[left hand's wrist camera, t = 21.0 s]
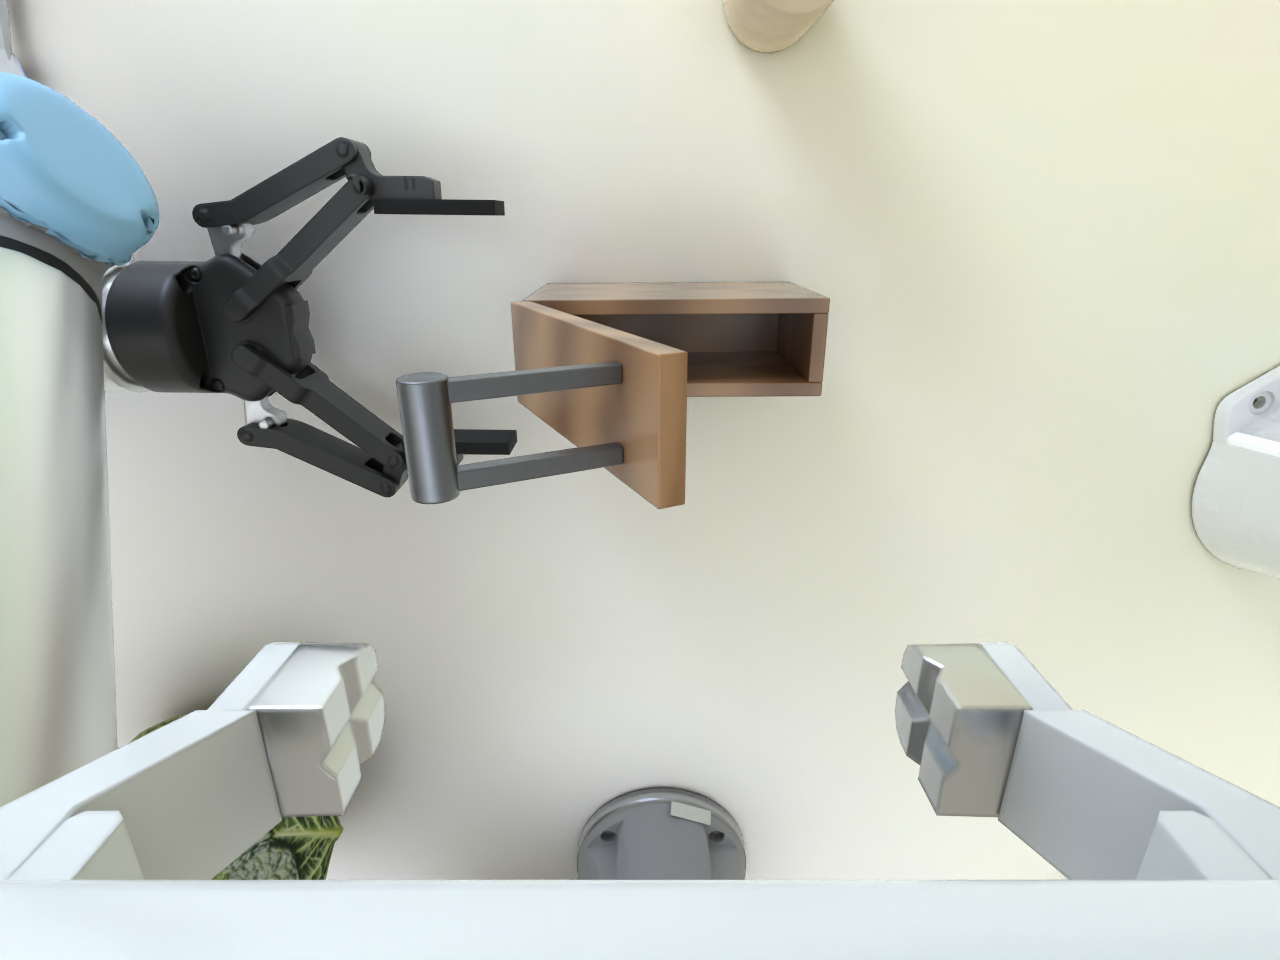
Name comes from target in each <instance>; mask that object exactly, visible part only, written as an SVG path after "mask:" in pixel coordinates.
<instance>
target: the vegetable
mask: <svg viewBox="0 0 1280 960" xmlns="http://www.w3.org/2000/svg"><path fill="white" fill-rule="evenodd" d="M183 716H185V715H182V716H177V717H174V718H172V719H169V720H166V721H164V722H161V723H159V724H157V725H155V726H153V727H150V728H148V729H146V730H145V731H143V732H141V733H140V734H139V735H138V736H137V737H135V738H134V739H133V740H132V741H131V742H133V741H135V740H137V739H139V738H141V737H143V736H145V735H147V734H149V733H151V732H153V731H155V730H157V729H159V728H161V727H163V726H165V725H167V724H169V723H171V722H173V721H175V720H177V719H179V718H181V717H183ZM131 742H130V743H131ZM118 749H119V748H118ZM342 831H343V828H342V826H341V824H340V822H339V819H338V816H304V817H282V821H281V822H280V823H278V824H277V825H276V826H275V827H274V828H272V829H271V830H270V831H269V832H268V833H266V834H265V835H264V836H263V837H262V838H260V839H259V840H258V841H257V842H256V843H254V844H253V845H252V846H251V847H250V848H248V849H247V850H246V851H245V852H244V853H242V854H241V855H240V856H239V857H238V858H236V859H235V860H234V861H233V862H232V863H230V864H229V865H228V866H227V867H226V868H224V869H223V870H222V871H221V872H220V873H218V874H217V875H216V876H215V877H214V878H212V879H211V880H325V879H326V875H327V871H328V867H329V862H330V858H331V855H332V851H333V847H334V843H335V841H336V840H337V839H338V838H339V836H340V835H341V833H342Z"/></svg>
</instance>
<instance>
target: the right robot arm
mask: <svg viewBox="0 0 1280 960" xmlns="http://www.w3.org/2000/svg"><path fill="white" fill-rule="evenodd" d="M346 176H347V177H346ZM344 177H346V178H347V179H348V182H347V183H346V184H345V185H344V186H343V187H342V188H341V189H340V190H339V191H338V192H337V193H336V194H335V195H334V196H333V197H332V198H331V199H330V200H329V201H328V202H327V203H326V205H325V206H324V207H323V208H322V209H321V210H320V211H319V212H318V213H317V214H316V215H315V216H314V217H313V218H312V219H311V220H310V221H309V222H308V223H307V224H306V225H305V226H304V227H303V228H302V229H301V230H300V231H299V232H298V233H297V234H296V235H295V236H294V237H293V239H292V240H291V241H290V242H289V243H288V244H287V245H286V246H285V247H284V248H283V249H282V250H281V251H280V252H279V253H278V254H277V255H276V256H274V257H272V258H270V259H269V260H267V261H266V262H265V263H264V264H263V265H262V266H261V265H260V264H258V263H257V262H255V261H254V260H252V259H251V258H249V257H248V256H246V255H244V254H241V245H242V243H243V242H244V241H246V240H248V239H250V238H251V237H252V236H253V233H254V231H255V230H254V227H253V225H254V224H259V223H263V222H266V221H268V220H270V219H272V218H274V217H276V216H278V215H279V214H281V213H283V212H285V211H286V210H288V209H290V208H292V207H293V206H295V205H297V204H299V203H300V202H302V201H304V200H306V199H307V198H309V197H311V196H313V195H314V194H316V193H318V192H320V191H321V190H323V189H325V188H327V187H328V186H330V185H332V184H334V183H335V182H337V181H339V180H341V179H342V178H344ZM373 208H374V214H427V215H505V212H504V201H497V200H442V197H441V185H440V182H439V181H437V180H435V179H432V178H429V177H424V176H382V175H381V174H380V173H378V171H377V170H376V169H375V167H374V165H373V162H372V160H371V152H370V149H369V148H368V147H367V145H365V144H364V143H361V142H358V141H354V140H350V139H347V138H341V137H340V138H337V139H335V140H333V141H331V142H330V143H328V144H326V145H325V146H323V147H321V148H319V149H318V150H316V151H314V152H313V153H311V154H309V155H307V156H306V157H304V158H302V159H301V160H299V161H297V162H295V163H294V164H292V165H290V166H289V167H287V168H285V169H283V170H282V171H280V172H278V173H277V174H275V175H273V176H271V177H270V178H268V179H266V180H265V181H263V182H261V183H259V184H258V185H256V186H254V187H253V188H251V189H249V190H247V191H246V192H244V193H242V194H241V195H239V196H237V197H235V198H234V199H232V200H230V201H222V202H213V203H204V204H199V205H196V206H195V207H194V208H193V212H192V214H193V218H194V220H195V222H196V223H197V224H198V225H200V226H202V227H206V228H207V229H208V232H209V235H210V238H211V242H212V245H213V248H214V252H215V255H216V256H215V257H213V258H212V259H211V260H209V261H206V262H164V261H139V262H134V263H130V262H129V261H130V259H131V254H132V253H133V252H135V251H136V250H137V249H139V248H140V247H141V246H143V245H144V244H145V243H147V242H148V241H149V240H150V238H151V237H152V236H153V234H154V232H155V230H156V229H157V227H158V223H159V211H158V204H157V201H156V197H155V195H154V193H153V190H152V188H151V186H150V184H149V182H148V180H147V178H146V176H145V175H144V173H143V171H142V170H141V168H140V167H139V165H138V164H137V163H136V161H135V160H134V159H133V157H132V156H131V155H130V154H129V152H128V151H127V150H126V149H125V148H124V146H123V145H122V144H121V143H120V142H119V141H118V140H117V139H116V138H115V137H114V136H113V135H112V134H111V133H110V132H109V131H108V130H107V129H106V128H105V127H104V126H103V125H102V124H101V123H99V122H98V121H97V120H96V119H95V118H93V117H91V116H90V115H88V114H87V113H86V112H85V111H83V110H82V109H80V108H79V107H78V106H76V105H75V104H74V103H73V102H72V101H70V100H69V99H68V98H66V97H65V96H63V95H62V94H60V93H58V92H56V91H55V90H53V89H51V88H49V87H47V86H45V85H43V84H41V83H39V82H37V81H34V80H31V79H29V78H26V77H22V76H19V75H15V74H11V73H3V72H0V807H2V806H4V805H6V804H8V803H10V802H12V801H14V800H16V799H18V798H20V797H22V796H24V795H26V794H28V793H30V792H32V791H34V790H36V789H38V788H40V787H42V786H44V785H46V784H48V783H50V782H52V781H54V780H56V779H58V778H60V777H62V776H64V775H66V774H68V773H70V772H72V771H74V770H76V769H78V768H80V767H82V766H84V765H86V764H88V763H90V762H92V761H94V760H96V759H99V758H101V757H103V756H105V755H107V754H109V753H111V752H113V751H115V750H117V749H118V747H117V720H116V692H115V665H114V637H113V610H112V582H111V555H110V527H109V500H108V472H107V444H106V417H105V391H111V392H145V391H150V390H151V391H155V392H189V393H229V394H232V395H235V396H237V397H239V398H241V399H243V400H244V408H245V420H246V425H245V426H243V427H242V428H240V429H239V430H238V433H237V436H238V439H239V440H240V442H242V443H243V444H245V445H249V446H257V447H266V448H274V449H278V450H280V451H282V452H284V453H287V454H289V455H291V456H293V457H296V458H298V459H300V460H302V461H305V462H307V463H309V464H311V465H314V466H316V467H318V468H320V469H323V470H325V471H327V472H329V473H332V474H334V475H336V476H338V477H341V478H343V479H345V480H347V481H350V482H352V483H354V484H356V485H359V486H361V487H363V488H365V489H368V490H370V491H372V492H374V493H377V494H379V495H381V496H384V497H391V496H393V495H394V494H395V493H396V492H397V491H398V489H399V488H400V487H401V486H402V485H403V484H404V483H405V482H406V480H407V479H408V468H407V461H406V453H405V446H404V438H403V436H402V435H401V434H399V433H398V432H397V431H395V430H394V429H393V428H391V427H390V426H389V425H387V424H386V423H385V422H383V421H382V420H381V419H379V418H378V417H377V416H375V415H374V414H373V413H371V412H370V411H369V410H367V409H366V408H365V407H363V406H362V405H361V404H359V403H358V402H357V401H355V400H354V399H353V398H351V397H350V396H349V395H347V394H346V393H345V392H343V391H342V390H341V389H339V388H338V387H337V386H335V385H334V384H333V383H331V382H330V381H329V379H328V376H327V375H326V374H325V373H324V372H323V371H321V370H320V369H319V368H317V367H316V366H315V365H313V364H312V363H311V362H310V361H311V357H312V354H314V353H316V352H315V346H314V340H313V338H312V335H311V333H310V331H309V328H308V323H309V307H308V301H303V298H302V297H301V295H300V294H299V292H298V291H297V290H296V289H297V288H298V287H299V286H300V285H301V284H302V283H303V282H304V281H305V280H306V279H307V278H308V277H309V276H310V275H311V273H312V270H313V269H314V268H315V267H316V266H317V265H318V264H319V263H320V262H321V261H322V260H323V259H324V258H325V257H326V256H327V255H328V254H329V253H330V252H331V251H332V250H333V249H334V248H335V247H336V246H337V245H338V244H339V243H340V242H341V241H342V240H343V239H344V238H345V237H346V236H347V235H348V234H349V232H350V231H351V230H352V229H353V228H354V227H355V226H356V225H357V224H358V223H359V222H360V221H361V220H362V219H363V218H364V217H365V216H366V215H367V214H368V213H369V212H370V211H371V210H372V209H373ZM275 392H278V393H279V394H281V395H282V396H283V397H285V398H286V399H287V400H289V401H290V402H292V403H295V404H300V405H302V406H304V407H305V408H307V409H308V410H309V411H311V412H312V413H313V414H315V415H316V416H317V417H319V418H320V419H322V420H323V421H324V422H326V423H327V424H328V425H330V426H331V427H332V428H334V429H335V430H337V431H338V432H339V433H341V434H342V435H343V436H345V437H346V438H347V439H349V440H350V441H352V442H353V443H354V444H356V445H357V446H358V447H356V446H354V445H352V444H350V443H348V442H345V441H343V440H341V439H339V438H337V437H334V436H332V435H330V434H328V433H326V432H323V431H321V430H319V429H317V428H315V427H312V426H310V425H308V424H305V423H303V422H300V421H297V420H293V419H288V418H287V414H286V412H285V411H282V410H279V409H276V408H274V407H273V406H272V405H271V404H270V403H269V401H268V396H270V395H272V394H274V393H275ZM453 430H454V439H455V449H456V458H457V466H458V465H459V463H460V462H461V461H462V459H463V454H490V455H510V453H511V451H512V449H513V448H514V446H515V444H516V442H517V432H516V430H460V429H453ZM359 447H360V448H359ZM745 870H746V857H745V850H744V844H743V839H742V835H741V832H740V830H739V828H738V826H737V824H736V822H735V821H734V820H733V818H732V817H731V816H730V815H729V814H728V813H727V812H726V811H725V810H724V809H723V808H722V807H720V806H719V805H718V804H716V803H714V802H713V801H711V800H709V799H707V798H705V797H703V796H701V795H698V794H695V793H692V792H688V791H684V790H678V789H669V788H655V789H645V790H640V791H635V792H632V793H628V794H626V795H623V796H620V797H618V798H616V799H614V800H612V801H611V802H609V803H607V804H606V805H604V806H603V807H602V808H600V809H599V810H598V811H597V812H596V813H595V814H594V815H593V816H592V817H591V818H590V820H589V821H588V822H587V824H586V826H585V827H584V829H583V831H582V834H581V837H580V841H579V847H578V857H577V871H578V878H579V880H744V879H745Z"/></svg>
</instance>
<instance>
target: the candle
mask: <svg viewBox="0 0 1280 960" xmlns="http://www.w3.org/2000/svg"><path fill="white" fill-rule="evenodd" d="M833 1H834V0H723V3H724V11H725V16H726V20H727V22H728V25H729V27H730V29H731V31H732V33H733V34H734V36H735V37H736V38H737V39H738V40H739V41H740V42H741V43H742V44H743V45H745V46H746V47H748V48H750V49H752V50H755V51H758V52H776V51H780V50H783V49H785V48H787V47H789V46H791V45H792V44H794V43H795V42H796V41H798V40H799V39H800V38H801V37H802V36H803V35H804V34H805V33H806V32H807V30H808V29H809V28H810V27H811V26H812V25H813V24H814V23H815V21H816V20H817V19H818V18H819V17H820V16H821V15H822V13H823V12H824V11H825V10H826V9H827V8H828V7H829V5H830V4H831V3H832V2H833Z"/></svg>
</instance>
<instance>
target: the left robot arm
mask: <svg viewBox="0 0 1280 960" xmlns="http://www.w3.org/2000/svg"><path fill="white" fill-rule="evenodd" d="M1256 398H1257V401H1256V402H1255V403H1254V404H1253V402H1254V400H1255V399H1256ZM1192 518H1193V523H1194V527H1195V530H1196V533H1197V535H1198V537H1199V539H1200V541H1201V542H1202V544H1203V545H1204V547H1205V548H1206V549H1207V550H1208V551H1209V552H1210V553H1211V554H1212V555H1213V556H1215V557H1216V558H1217V559H1219V560H1221V561H1222V562H1224V563H1226V564H1228V565H1231V566H1234V567H1237V568H1240V569H1245V570H1250V571H1255V572H1259V573H1262V574H1266V575H1269V576H1272V577H1276V578H1279V579H1280V366H1278V367H1276V368H1274V369H1273V370H1271V371H1269V372H1267V373H1266V374H1264V375H1262V376H1260V377H1259V378H1257V379H1255V380H1253V381H1252V382H1250V383H1248V384H1246V385H1245V386H1243V387H1241V388H1239V389H1238V390H1236V391H1234V392H1232V393H1231V394H1229V395H1228V396H1226V397H1225V398H1224V399H1223V400H1222V401H1221V402H1220V403H1219V405H1218V407H1217V410H1216V413H1215V418H1214V428H1213V443H1212V446H1211V449H1210V451H1209V453H1208V455H1207V457H1206V459H1205V462H1204V464H1203V466H1202V468H1201V470H1200V472H1199V475H1198V477H1197V480H1196V483H1195V487H1194V491H1193V497H1192ZM378 668H379V666H378V661H377V656H376V651H375V649H374V648H373V647H372V646H371V645H370V644H355V643H307V642H306V643H302V642H274V643H270V644H267V645H265V646H264V647H263V648H262V649H261V650H260V651H259V652H258V653H257V655H256V656H255V657H254V658H253V659H252V660H251V661H250V662H249V664H248V665H247V666H246V667H245V668H244V669H243V670H242V671H241V672H240V674H239V675H238V676H237V677H236V678H235V679H234V680H233V681H232V683H231V684H230V685H229V686H228V687H227V688H226V689H225V690H224V692H223V693H222V694H221V695H220V696H219V697H218V698H217V699H216V700H215V702H214V703H213V704H212V705H211V706H210V707H209V708H208V709H207V710H195V711H193V712H191V713H189V714H187V715H185V716H183V717H181V718H179V719H177V720H175V721H173V722H171V723H169V724H167V725H165V726H163V727H161V728H159V729H157V730H155V731H153V732H151V733H149V734H147V735H145V736H143V737H141V738H139V739H137V740H135V741H133V742H131V743H129V744H127V745H125V746H123V747H121V748H119V749H117V750H115V751H113V752H111V753H109V754H107V755H105V756H103V757H101V758H99V759H96V760H94V761H92V762H90V763H88V764H86V765H84V766H82V767H80V768H78V769H76V770H74V771H72V772H70V773H68V774H66V775H64V776H62V777H60V778H58V779H56V780H54V781H52V782H50V783H48V784H46V785H44V786H42V787H40V788H38V789H36V790H34V791H32V792H30V793H28V794H26V795H24V796H22V797H20V798H18V799H16V800H14V801H12V802H10V803H8V804H6V805H4V806H2V807H0V960H1280V807H1278V806H1276V805H1274V804H1272V803H1270V802H1268V801H1266V800H1264V799H1262V798H1260V797H1258V796H1256V795H1254V794H1252V793H1250V792H1248V791H1246V790H1244V789H1242V788H1240V787H1238V786H1236V785H1234V784H1232V783H1230V782H1228V781H1226V780H1223V779H1221V778H1219V777H1217V776H1215V775H1213V774H1211V773H1209V772H1207V771H1205V770H1203V769H1201V768H1199V767H1197V766H1195V765H1193V764H1191V763H1189V762H1187V761H1185V760H1183V759H1181V758H1179V757H1177V756H1175V755H1173V754H1171V753H1169V752H1167V751H1165V750H1163V749H1161V748H1159V747H1157V746H1155V745H1153V744H1151V743H1149V742H1147V741H1145V740H1143V739H1141V738H1139V737H1137V736H1135V735H1133V734H1131V733H1129V732H1127V731H1125V730H1123V729H1121V728H1119V727H1117V726H1115V725H1113V724H1111V723H1109V722H1107V721H1105V720H1103V719H1101V718H1099V717H1097V716H1095V715H1093V714H1091V713H1089V712H1087V711H1085V710H1073V709H1072V708H1071V707H1070V706H1069V705H1068V704H1067V703H1066V702H1065V700H1064V699H1063V698H1062V697H1061V696H1060V695H1059V694H1058V693H1057V692H1056V690H1055V689H1054V688H1053V687H1052V686H1051V685H1050V684H1049V683H1048V681H1047V680H1046V679H1045V678H1044V677H1043V676H1042V675H1041V674H1040V672H1039V671H1038V670H1037V669H1036V668H1035V667H1034V666H1033V665H1032V664H1031V662H1030V661H1029V660H1028V659H1027V658H1026V657H1025V656H1024V655H1023V653H1022V652H1021V651H1020V650H1019V649H1018V648H1017V647H1016V646H1015V645H1013V644H1011V643H1009V642H989V643H974V644H922V645H908V646H907V648H906V650H905V652H904V655H903V660H902V666H901V668H902V670H903V672H904V674H905V675H906V677H907V679H908V682H907V683H906V684H905V685H904V686H903V687H902V688H901V689H900V690H899V691H898V692H897V699H896V707H895V716H896V727H897V732H898V736H899V739H900V743H901V745H902V747H903V749H904V751H905V753H906V755H907V756H908V757H909V758H911V759H912V760H913V761H915V762H916V763H918V764H919V765H920V771H919V777H918V779H919V781H920V783H921V785H922V787H923V789H924V791H925V793H926V795H927V797H928V799H929V801H930V803H931V805H932V807H933V809H934V811H935V813H936V815H940V816H975V817H998V821H1000V822H1001V823H1002V824H1003V825H1004V826H1006V827H1007V828H1008V829H1009V830H1010V831H1012V832H1013V833H1014V834H1015V835H1016V836H1018V837H1019V838H1020V839H1021V840H1022V841H1024V842H1025V843H1026V844H1027V845H1028V846H1030V847H1031V848H1032V849H1033V850H1034V851H1036V852H1037V853H1038V854H1039V855H1040V856H1041V857H1043V858H1044V859H1045V860H1046V861H1047V862H1049V863H1050V864H1051V865H1052V866H1053V867H1055V868H1056V869H1057V870H1058V871H1059V872H1061V873H1062V874H1063V875H1064V876H1065V877H1067V878H1068V879H1069V880H211V879H212V878H214V877H215V876H216V875H217V874H218V873H220V872H221V871H222V870H223V869H224V868H226V867H227V866H228V865H229V864H230V863H232V862H233V861H234V860H235V859H236V858H238V857H239V856H240V855H241V854H242V853H244V852H245V851H246V850H247V849H248V848H250V847H251V846H252V845H253V844H254V843H256V842H257V841H258V840H259V839H260V838H262V837H263V836H264V835H265V834H266V833H268V832H269V831H270V830H271V829H272V828H274V827H275V826H276V825H277V824H278V823H280V822H281V821H282V817H304V816H338V815H344V813H345V811H346V809H347V807H348V805H349V803H350V801H351V799H352V797H353V795H354V793H355V791H356V789H357V787H358V785H359V783H360V781H361V779H362V777H361V771H360V765H361V764H362V763H364V762H365V761H367V760H368V759H369V758H371V757H372V756H373V755H374V753H375V751H376V749H377V747H378V745H379V743H380V740H381V735H382V731H383V726H384V721H385V705H384V698H383V692H382V691H381V690H380V689H379V688H378V687H377V686H376V685H375V684H374V683H373V682H372V679H373V677H374V675H375V674H376V672H377V670H378Z"/></svg>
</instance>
